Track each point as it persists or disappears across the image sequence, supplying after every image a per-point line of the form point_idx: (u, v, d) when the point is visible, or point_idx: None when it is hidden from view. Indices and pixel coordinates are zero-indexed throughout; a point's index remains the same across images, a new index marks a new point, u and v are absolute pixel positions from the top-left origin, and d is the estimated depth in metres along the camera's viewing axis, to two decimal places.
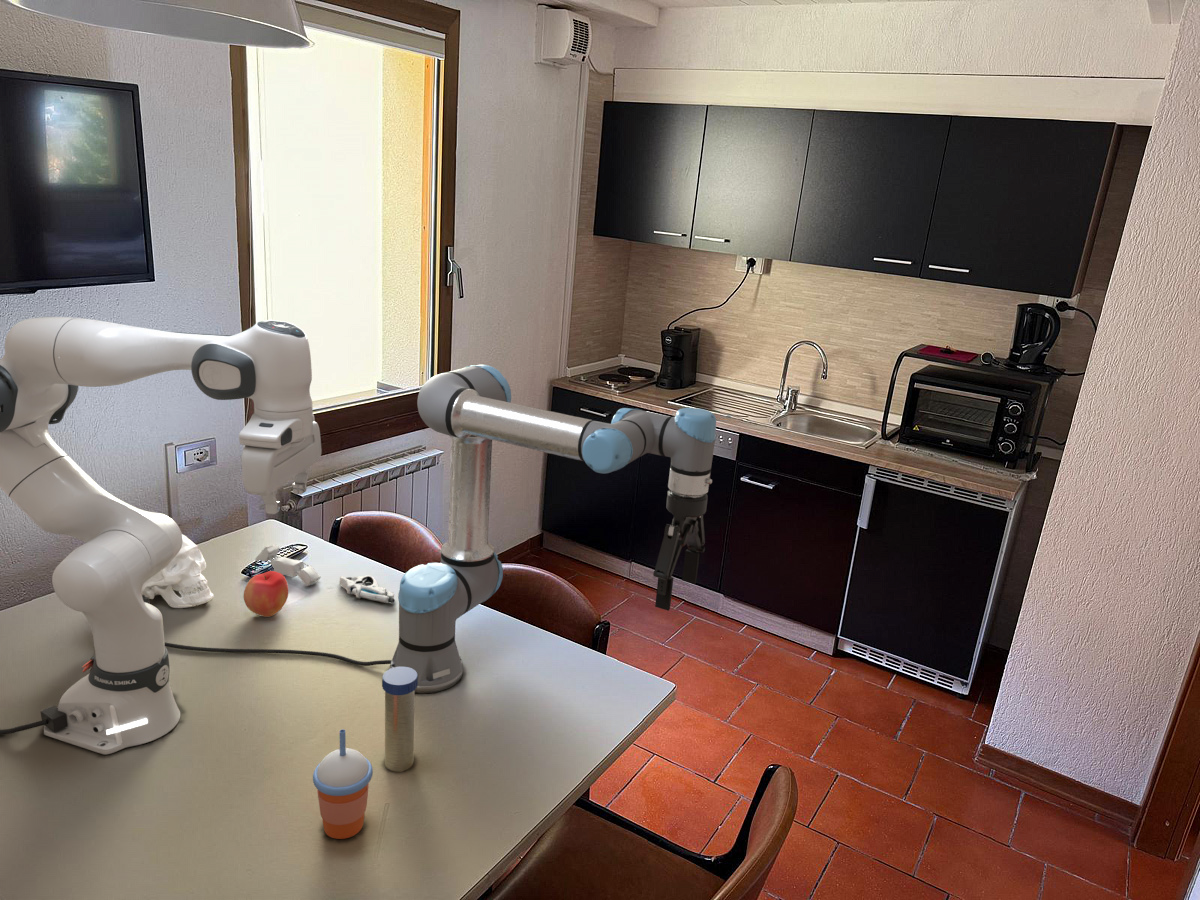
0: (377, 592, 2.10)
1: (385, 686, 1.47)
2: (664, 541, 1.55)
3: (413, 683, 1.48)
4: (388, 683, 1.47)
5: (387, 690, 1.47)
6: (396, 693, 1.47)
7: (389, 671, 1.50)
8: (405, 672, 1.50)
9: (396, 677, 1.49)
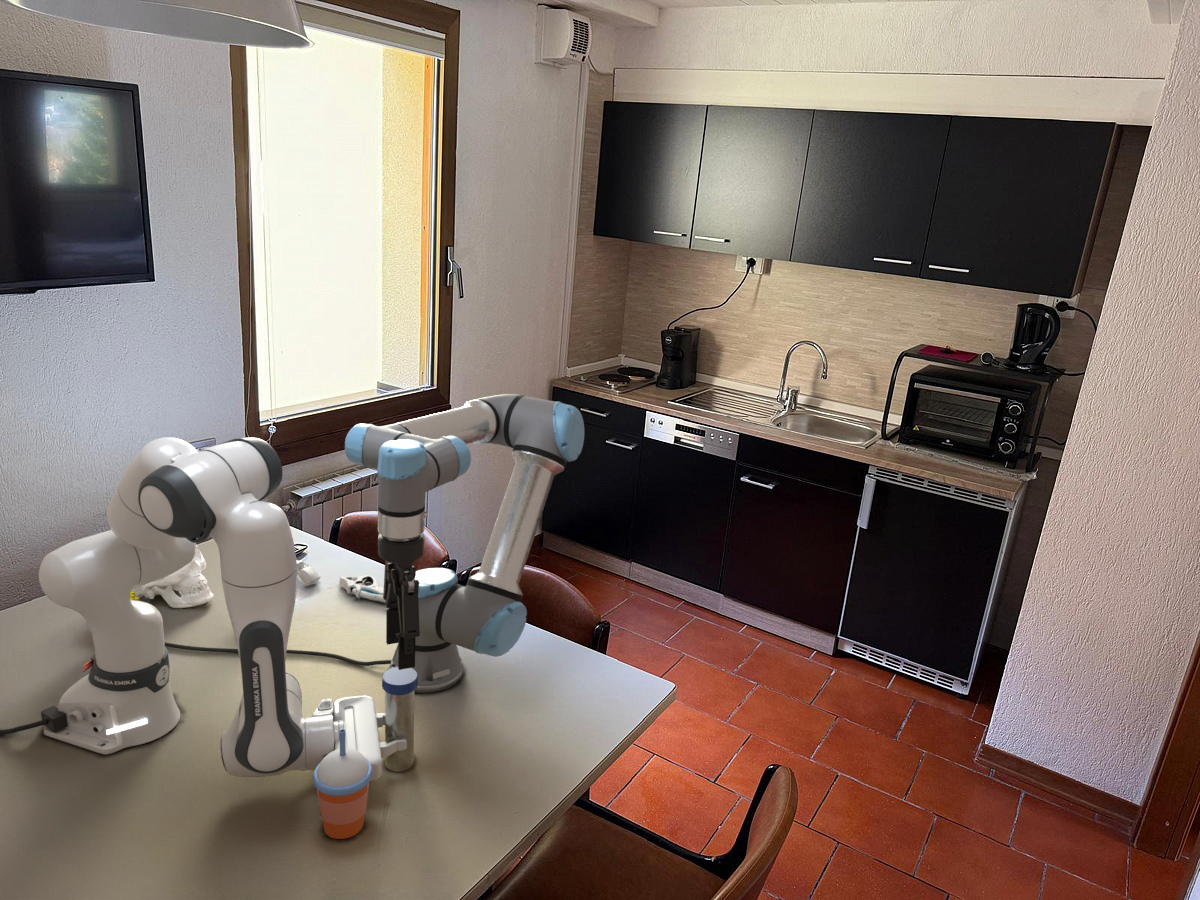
0: (377, 592, 2.10)
1: (385, 686, 1.47)
2: (406, 600, 1.38)
3: (413, 683, 1.48)
4: (388, 683, 1.47)
5: (387, 690, 1.47)
6: (396, 693, 1.47)
7: (389, 671, 1.50)
8: (405, 672, 1.50)
9: (396, 677, 1.49)
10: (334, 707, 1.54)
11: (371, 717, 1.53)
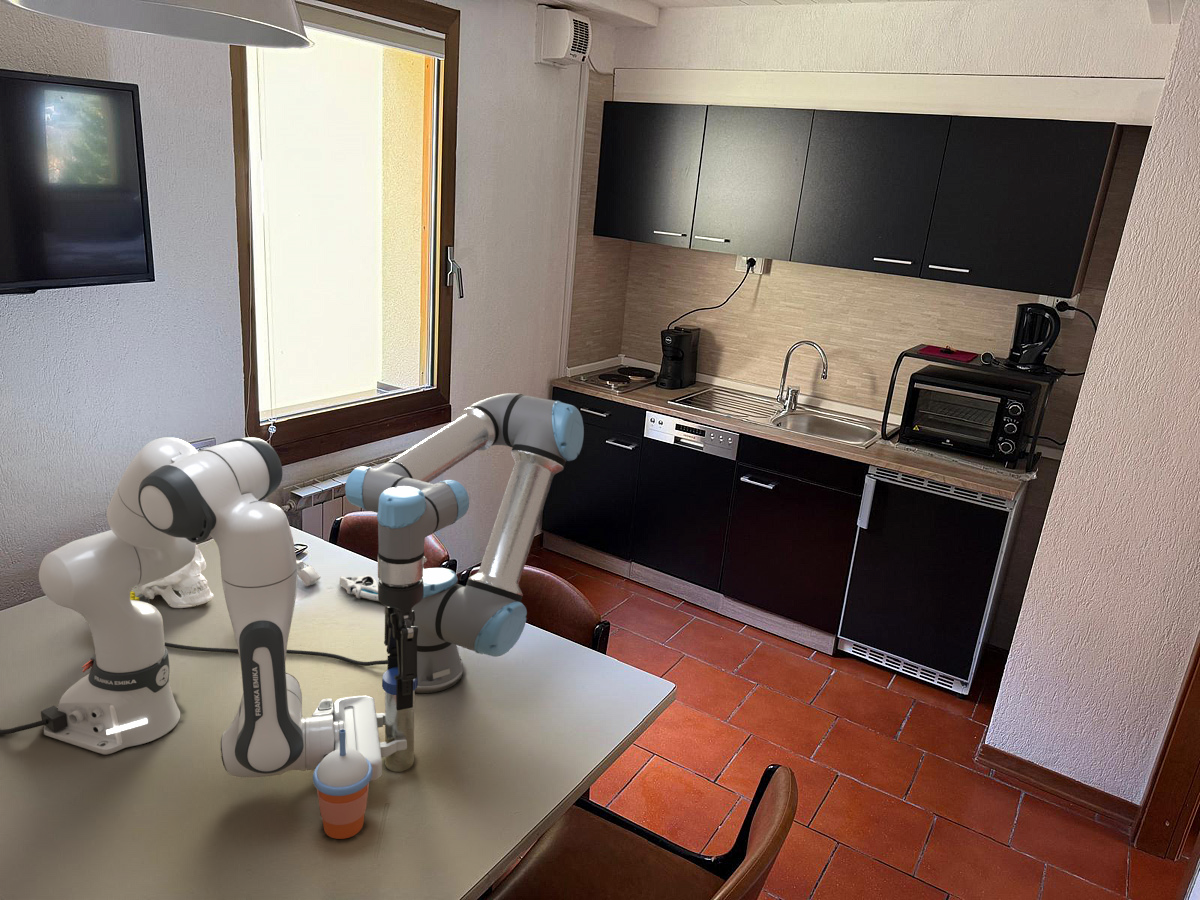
0: (377, 592, 2.10)
1: (385, 686, 1.47)
2: (404, 646, 1.41)
3: (413, 683, 1.48)
4: (388, 683, 1.47)
5: (387, 690, 1.47)
6: None
7: (389, 671, 1.50)
8: None
9: None
10: (334, 707, 1.54)
11: (371, 717, 1.53)
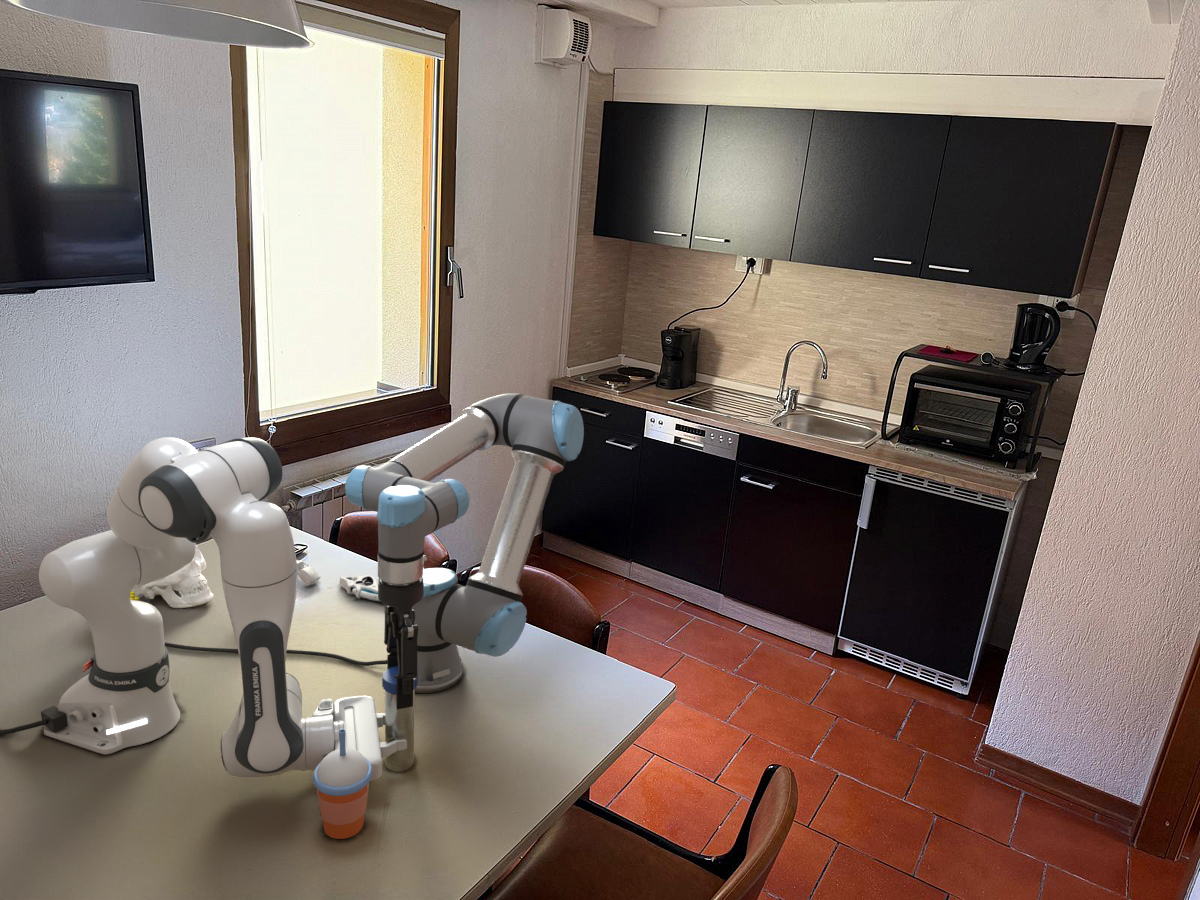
0: (377, 592, 2.10)
1: (414, 684, 1.48)
2: (405, 645, 1.41)
3: None
4: None
5: (415, 685, 1.49)
6: (417, 680, 1.51)
7: (395, 681, 1.47)
8: (393, 673, 1.49)
9: None
10: (334, 707, 1.54)
11: (371, 717, 1.53)
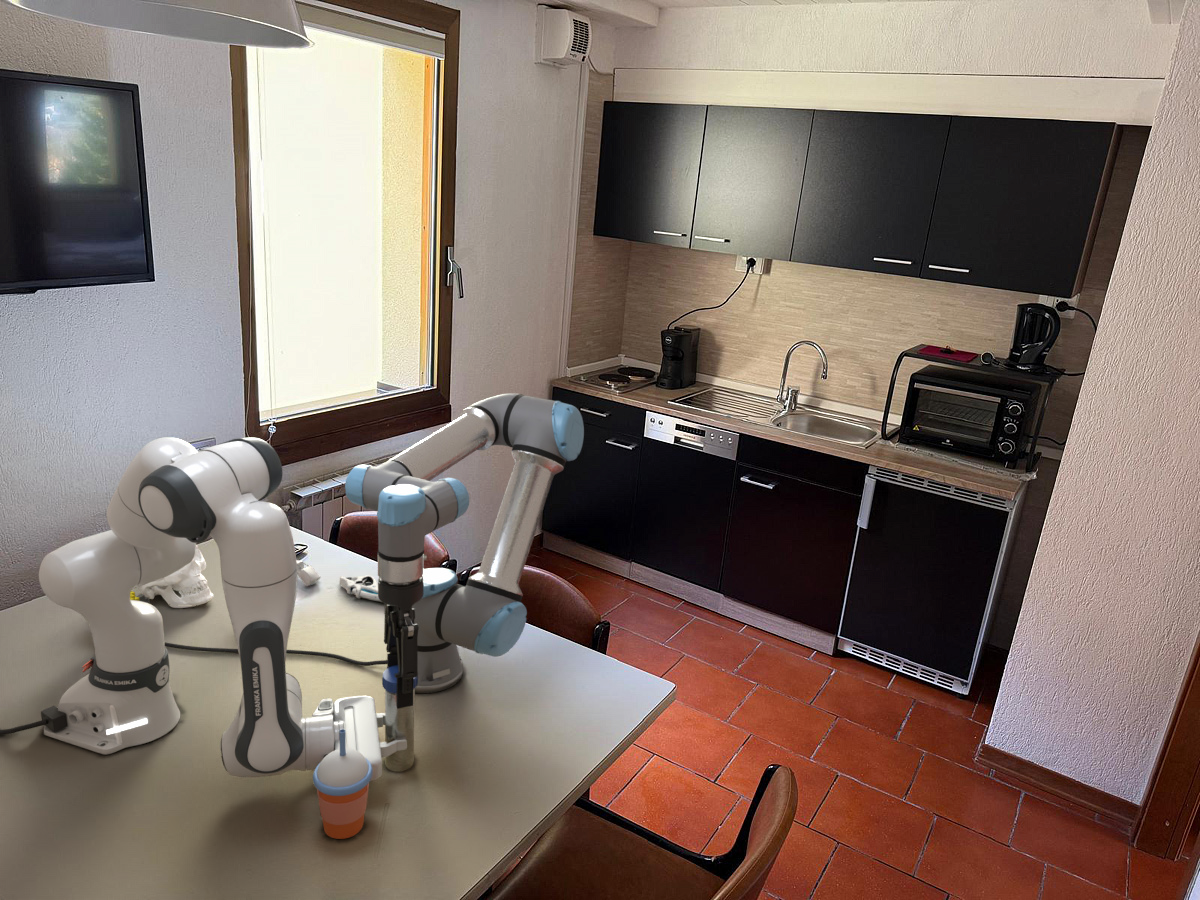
0: (377, 592, 2.10)
1: None
2: (405, 644, 1.41)
3: None
4: None
5: None
6: None
7: None
8: None
9: None
10: (334, 707, 1.54)
11: (371, 717, 1.53)
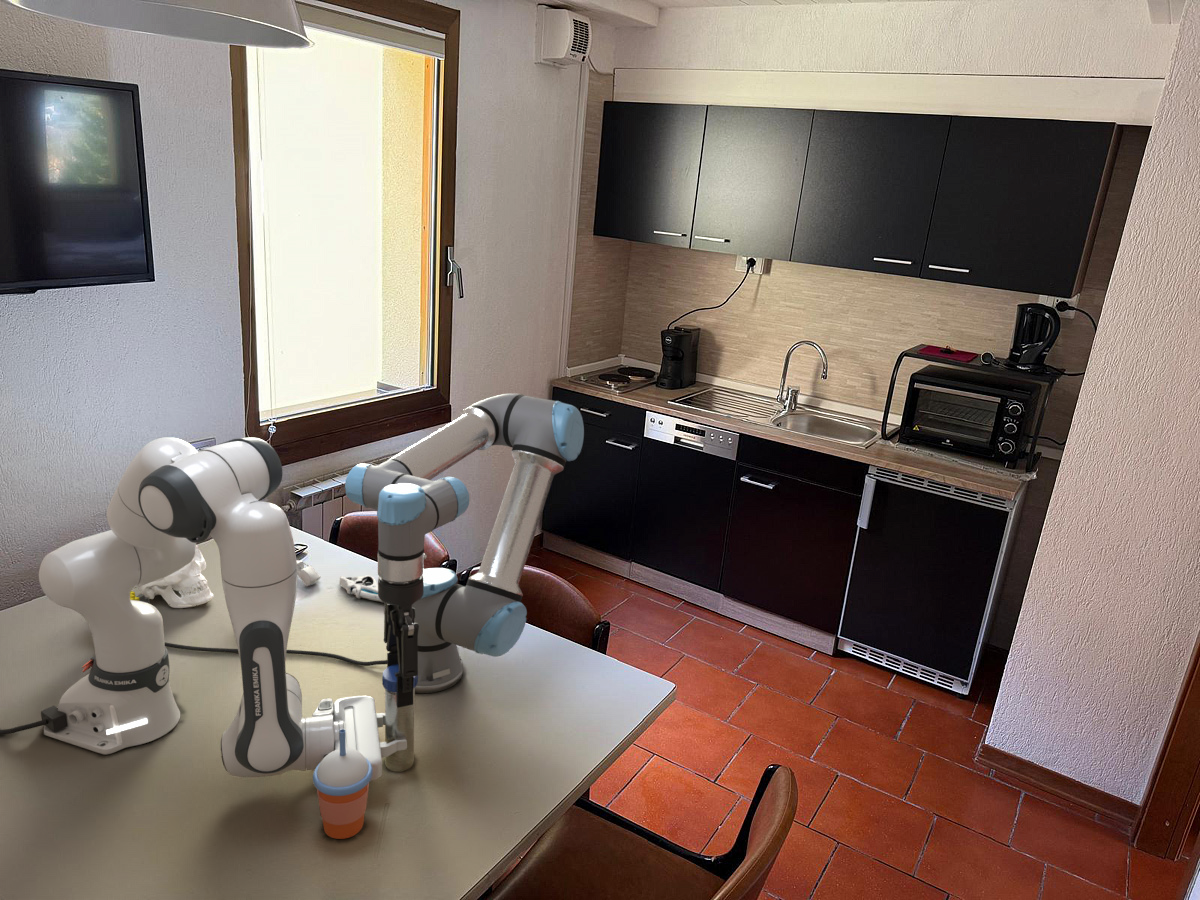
0: (377, 592, 2.10)
1: None
2: (405, 643, 1.41)
3: None
4: (383, 676, 1.48)
5: (382, 682, 1.48)
6: (387, 688, 1.47)
7: (396, 666, 1.51)
8: None
9: None
10: (334, 707, 1.54)
11: (371, 717, 1.53)
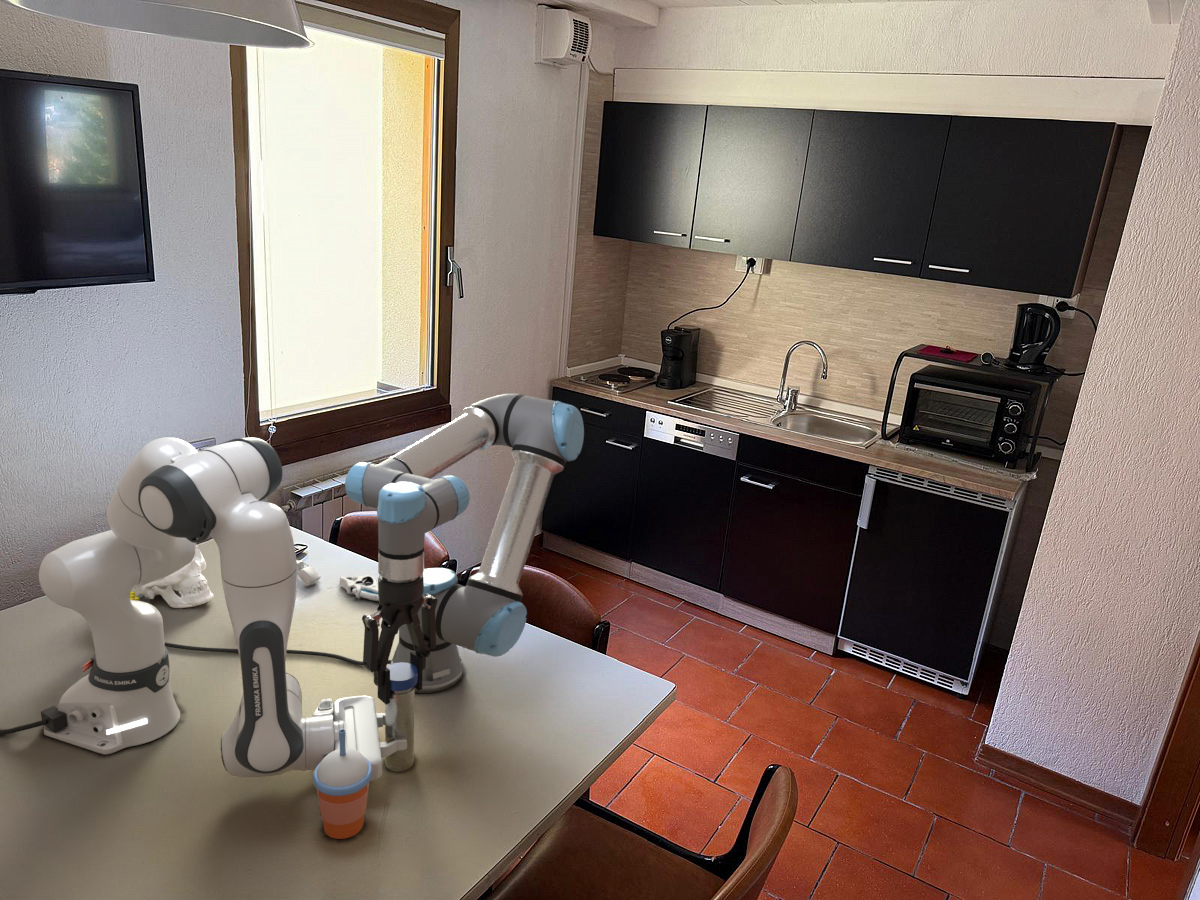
0: (377, 592, 2.10)
1: (406, 684, 1.47)
2: None
3: None
4: (409, 679, 1.47)
5: (409, 686, 1.47)
6: (415, 683, 1.49)
7: None
8: (396, 668, 1.50)
9: (402, 673, 1.48)
10: (334, 707, 1.54)
11: (371, 717, 1.53)
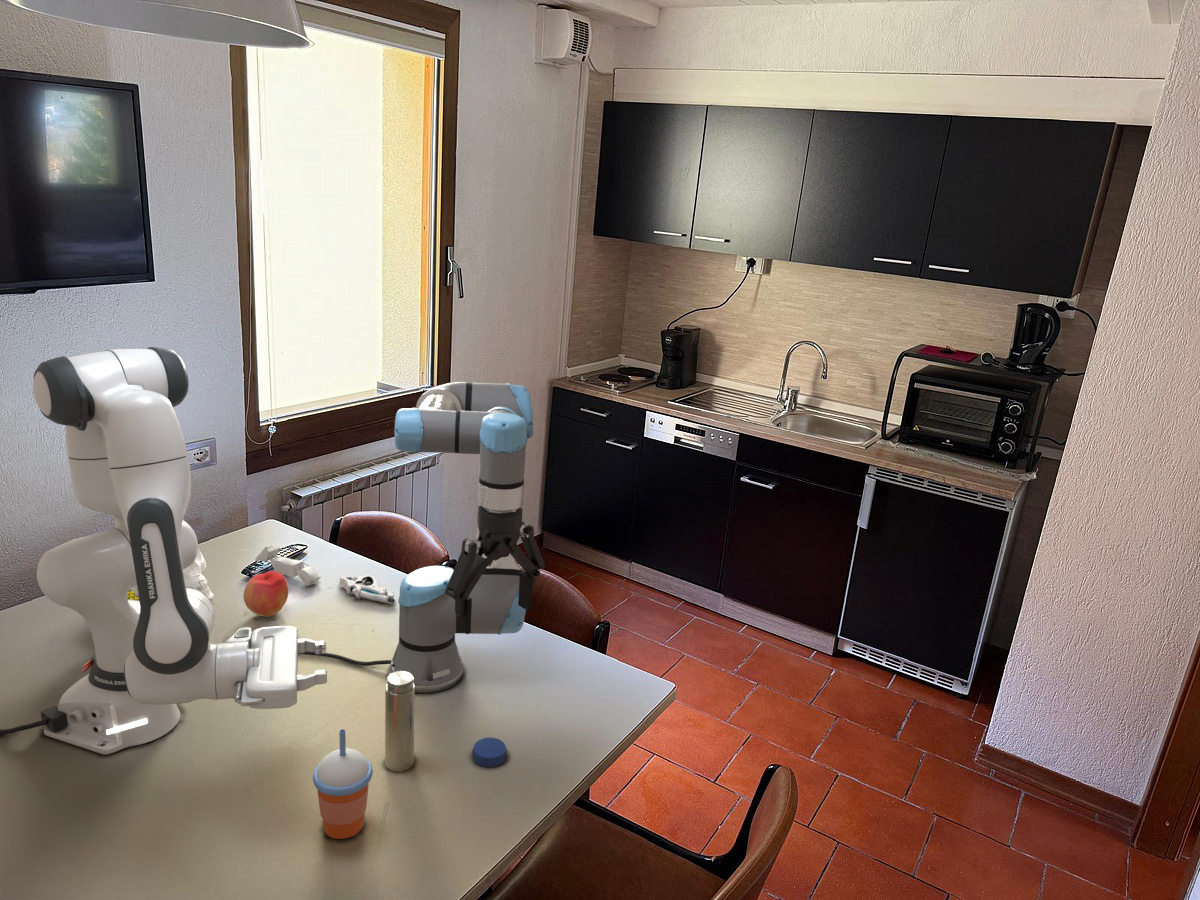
0: (377, 592, 2.10)
1: (496, 760, 1.55)
2: None
3: None
4: (499, 755, 1.56)
5: (499, 762, 1.56)
6: (504, 758, 1.57)
7: (480, 752, 1.56)
8: (485, 743, 1.58)
9: (492, 749, 1.57)
10: (252, 635, 1.45)
11: (291, 646, 1.44)
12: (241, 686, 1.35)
